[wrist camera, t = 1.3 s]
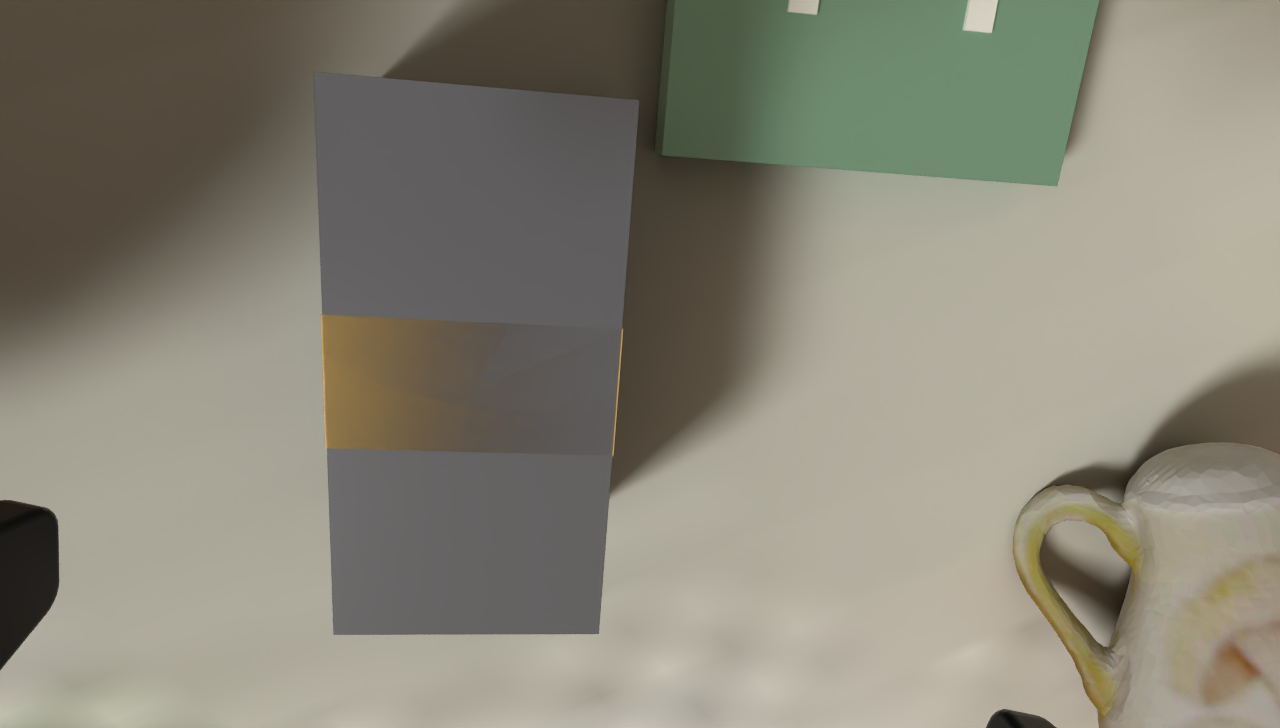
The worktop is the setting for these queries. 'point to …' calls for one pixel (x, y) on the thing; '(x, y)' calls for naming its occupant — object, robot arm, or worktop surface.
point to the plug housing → (470, 350)
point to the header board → (876, 84)
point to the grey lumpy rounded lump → (1177, 589)
